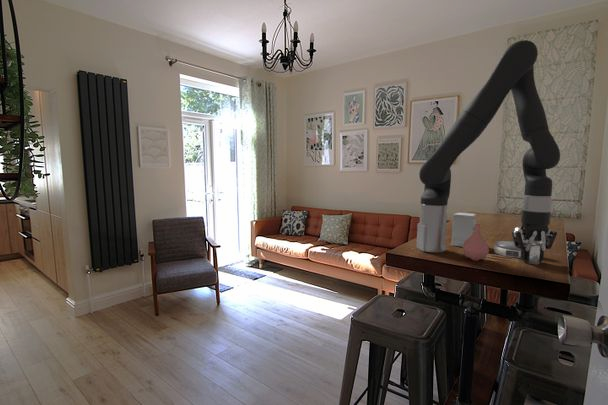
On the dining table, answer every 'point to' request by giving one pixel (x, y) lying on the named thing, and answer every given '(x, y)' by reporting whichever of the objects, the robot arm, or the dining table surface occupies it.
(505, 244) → the scale
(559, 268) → the dining table surface
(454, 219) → the supplement box
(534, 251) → the steel spacer
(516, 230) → the steel spacer
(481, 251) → the pink rounded bulb
